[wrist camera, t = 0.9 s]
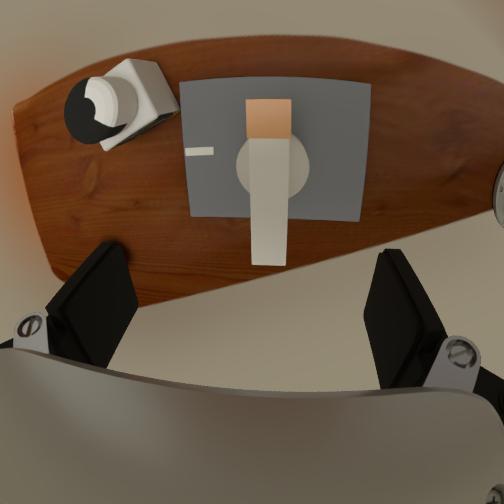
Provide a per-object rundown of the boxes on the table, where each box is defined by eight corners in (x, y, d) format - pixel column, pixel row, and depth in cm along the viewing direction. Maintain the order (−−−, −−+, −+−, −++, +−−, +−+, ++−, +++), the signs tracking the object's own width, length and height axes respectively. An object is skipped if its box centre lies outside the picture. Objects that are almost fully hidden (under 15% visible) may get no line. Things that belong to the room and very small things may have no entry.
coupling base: (367, 84, 26) (384, 83, 21) (356, 216, 34) (368, 240, 29) (183, 82, 28) (163, 82, 23) (194, 211, 36) (179, 234, 31)
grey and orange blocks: (238, 97, 23) (216, 100, 15) (308, 98, 22) (321, 100, 15) (242, 213, 29) (226, 264, 21) (304, 215, 28) (310, 267, 21)
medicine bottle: (134, 139, 32) (76, 166, 21) (111, 92, 28) (45, 103, 18) (182, 110, 29) (133, 124, 19) (157, 61, 26) (98, 54, 16)
